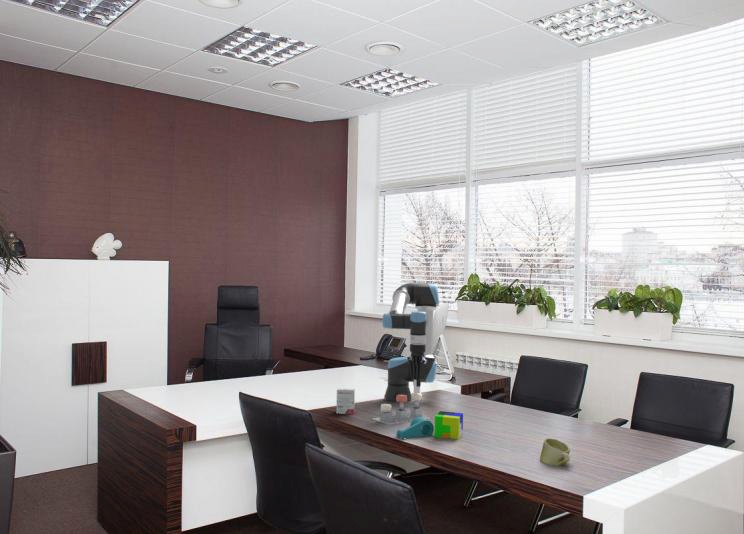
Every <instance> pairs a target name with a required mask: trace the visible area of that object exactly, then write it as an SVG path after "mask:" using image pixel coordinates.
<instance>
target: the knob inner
mask: <svg viewBox="0 0 744 534" xmlns="http://www.w3.org/2000/svg"><path fill="white" fill-rule="evenodd" d="M411 399H412V401H414V407H415V408H418V407H419V401H423V394H422V393H421V392H420V393H416V394H415V393H414V392H411Z"/></svg>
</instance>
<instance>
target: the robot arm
mask: <svg viewBox="0 0 744 534" xmlns="http://www.w3.org/2000/svg"><path fill="white" fill-rule="evenodd" d="M438 289H439V288H438V286H437V284H435V283H428V282H427V283H425V282H424V283H423V282H422V283H418V282H417V283H416V282H415V283H414V282H409V283H404V284H402V285H400V286H399V287H397V288H396V289H395V290H394V292H393V294H392V297H391V298H392V302H391V305H390V309H389V312H387V313H383V315H382V327H383V328H384V329H388V330H390V329H392V330H394V329H395V330H410V331H409V343H410V344H409V352H410V356H401V357H393V358H391V359H389V360H388V362H387V387H386V390H385V393H384V395H383V396H384V397H383V400H384V401H386V402H387V403H395V402H397V401H396V396H397V395H407V402H406V403H409V402H411V401H413V400H412V399H411V396H412V392H411V390H410V382H411V383H412V385H413V393H415V394H416V393H421V385H422V383H426V384H427V383H433V382H434V381H435V380H436V375H437V369H438V361H436V357H435V356H434V355H433V333H434V311H435V310H436V309H437V306H438V305H440V300H439V291H438ZM408 304H409V305H414V308H415V309H416V310H417V311H411V313H405V311H406V308H407V305H408Z"/></svg>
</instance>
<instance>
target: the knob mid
mask: <svg viewBox="0 0 744 534" xmlns="http://www.w3.org/2000/svg"><path fill="white" fill-rule="evenodd" d="M396 401H397V402H400V403H399V409H400V410H403V409H404V404H405V403H408V402H407V395H397V396H396Z"/></svg>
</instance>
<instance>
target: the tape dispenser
mask: <svg viewBox="0 0 744 534" xmlns="http://www.w3.org/2000/svg"><path fill="white" fill-rule="evenodd" d="M434 432H435V425H434V424H433V423H432V421H430V420H429V419H424V418H421V417H416V418H414V419H413V420H412V422H410V425H409V426H408V427H406V428H405V429H398V430H397V431H396V433H395V434H396V437H397V436H398V437H397V438H399V439H401V438H402V439H401V440H405V439H404V438H406V439H408V438H418V437H427V436H432V435H433V433H434ZM399 436H400V437H399Z"/></svg>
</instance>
